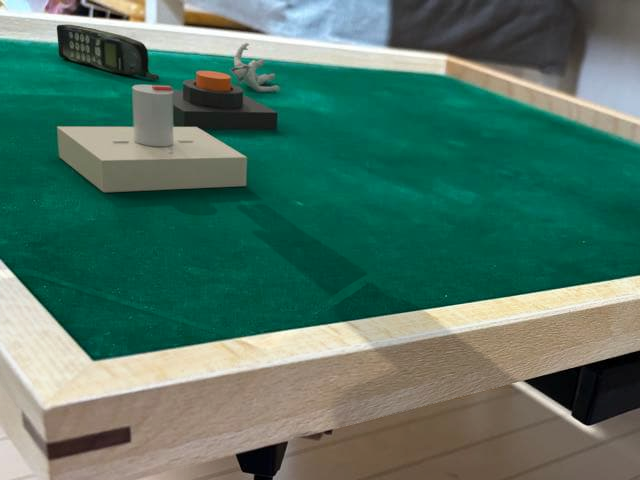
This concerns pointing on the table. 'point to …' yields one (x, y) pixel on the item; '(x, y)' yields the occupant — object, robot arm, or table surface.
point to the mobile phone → (103, 50)
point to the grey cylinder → (153, 115)
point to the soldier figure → (251, 73)
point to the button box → (220, 109)
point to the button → (213, 81)
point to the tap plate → (150, 160)
